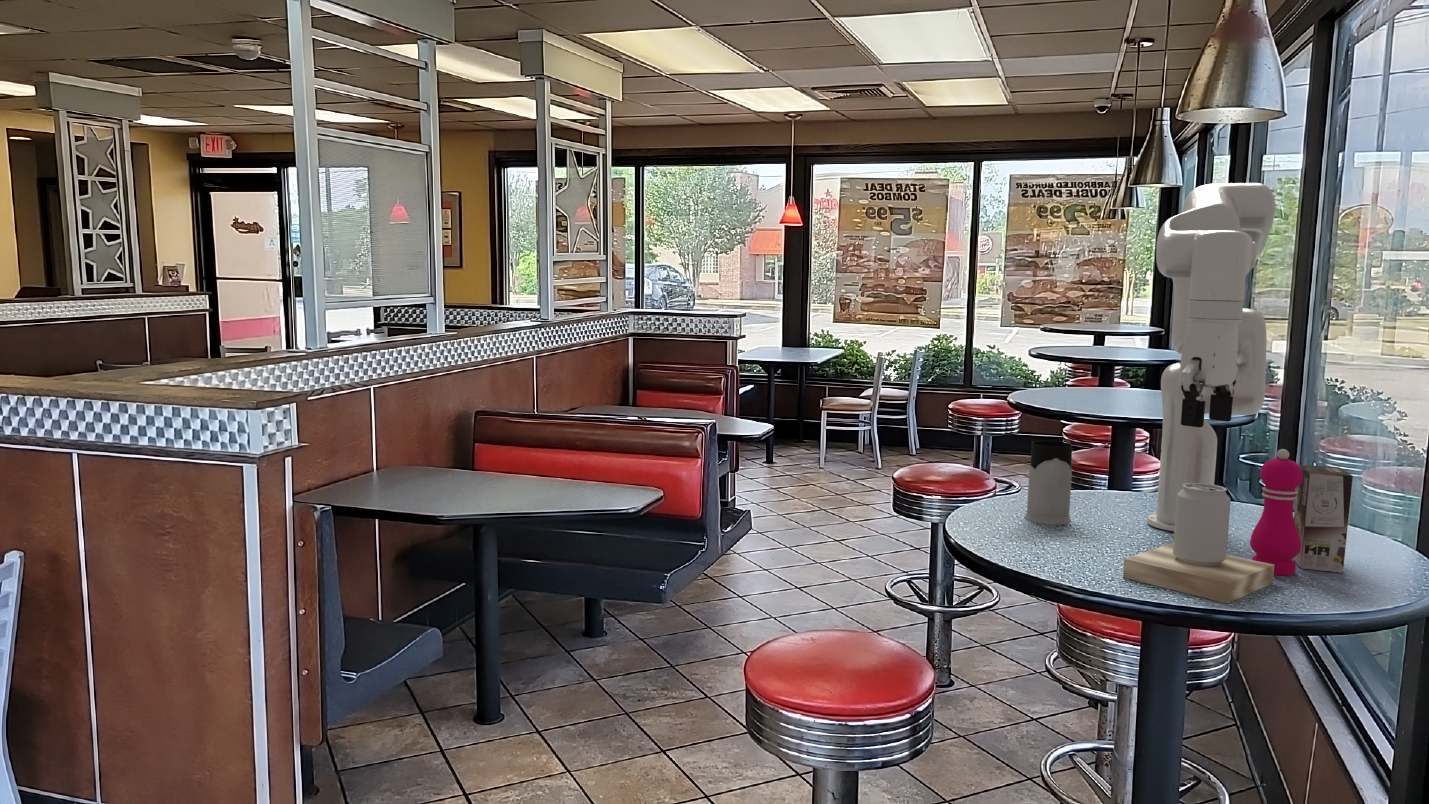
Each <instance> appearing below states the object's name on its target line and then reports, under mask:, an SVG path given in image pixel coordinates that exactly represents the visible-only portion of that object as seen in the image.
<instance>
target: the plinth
mask: <svg viewBox="0 0 1429 804" xmlns="http://www.w3.org/2000/svg"><path fill="white" fill-rule="evenodd" d="M1173 544H1174V542H1173V543H1169V544H1166V545H1162V546H1158V547H1156V548H1154V549H1150V550H1147V551H1144V552H1141V553H1138V554H1136V555H1135V554H1134V555H1132V556H1128V557H1126V558H1124V559H1123V572H1122V573H1123V574H1122V578H1124V579H1129V580H1132V581H1136V582H1140V583H1144V584H1147V585H1153V586H1156V587H1161V588H1164V589H1169V590H1173V591H1177V592H1181V593H1185V594H1189V595H1194V596H1197V597H1201V598H1206V599H1209V600H1212V601H1213V600H1214V601H1217V602H1221V603H1225V604H1230V603H1231V602H1234V601H1237V600H1238V599H1241V598H1244V597H1246V596H1248V595H1250V594H1252V593H1254V592H1257V591H1259V590H1261V589H1264V588H1265V587H1268V586H1270V585H1273V584H1274V576H1275V575H1274V565H1273V564H1269V563H1264V562H1259V561H1254V560H1252V559H1249V558H1244V557H1239V556H1234V555H1229V554H1226V560H1224V561H1223V562H1221V563H1220V564H1219V565H1217V566H1197V565H1191V564H1187V563H1184V562H1181V561H1180V560H1178V558H1177V557H1176V556H1175V555H1174V554H1173Z"/></svg>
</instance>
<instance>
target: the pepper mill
mask: <svg viewBox="0 0 1429 804" xmlns="http://www.w3.org/2000/svg"><path fill="white" fill-rule="evenodd" d="M1276 456H1277V457H1275V458H1271V459H1268V460H1267V461H1265V462H1264V463H1263V464H1262V465H1261V468H1260V471H1259V472H1260V473H1259V477H1260V480H1261V481H1262V483H1263V484H1264V486H1263V487H1262V488H1261V489H1262V493H1261V495H1262V497H1264V505H1263V511H1262V514H1261V516H1260V518H1259V520H1258V521H1257V523H1256V525H1255V527H1254V529H1253V530H1252V532H1251V536H1250V540H1249V546H1250V547H1251V549H1252V550H1253V551H1254V553H1255V555H1253V556H1252V557H1251V560H1254V561H1259V562H1264V563H1269V564H1273V565H1274V575H1273V576H1284V577H1285V576H1288V577H1289V576H1292V575H1295V573H1296V566H1297V563H1296V562H1295V560H1294V559H1293V558H1294V557H1295V556H1296V555H1298V554H1299V552H1300V550H1301V541H1300V536H1299V533H1298V531H1297V528H1296V526H1295V523H1294V505H1295V500H1296V499H1297V493H1298V491H1297V490H1296V487H1297V486H1298V485H1300V483H1301V482H1302V479H1303V472H1302V469H1301V467H1300V466H1299V465H1300V464H1298V463H1297V462H1296V461H1294V460H1292V459H1289V457H1290V452H1289V451H1288V450H1287V449H1285V448H1281V449H1279V450H1278V451H1277V452H1276Z"/></svg>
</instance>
